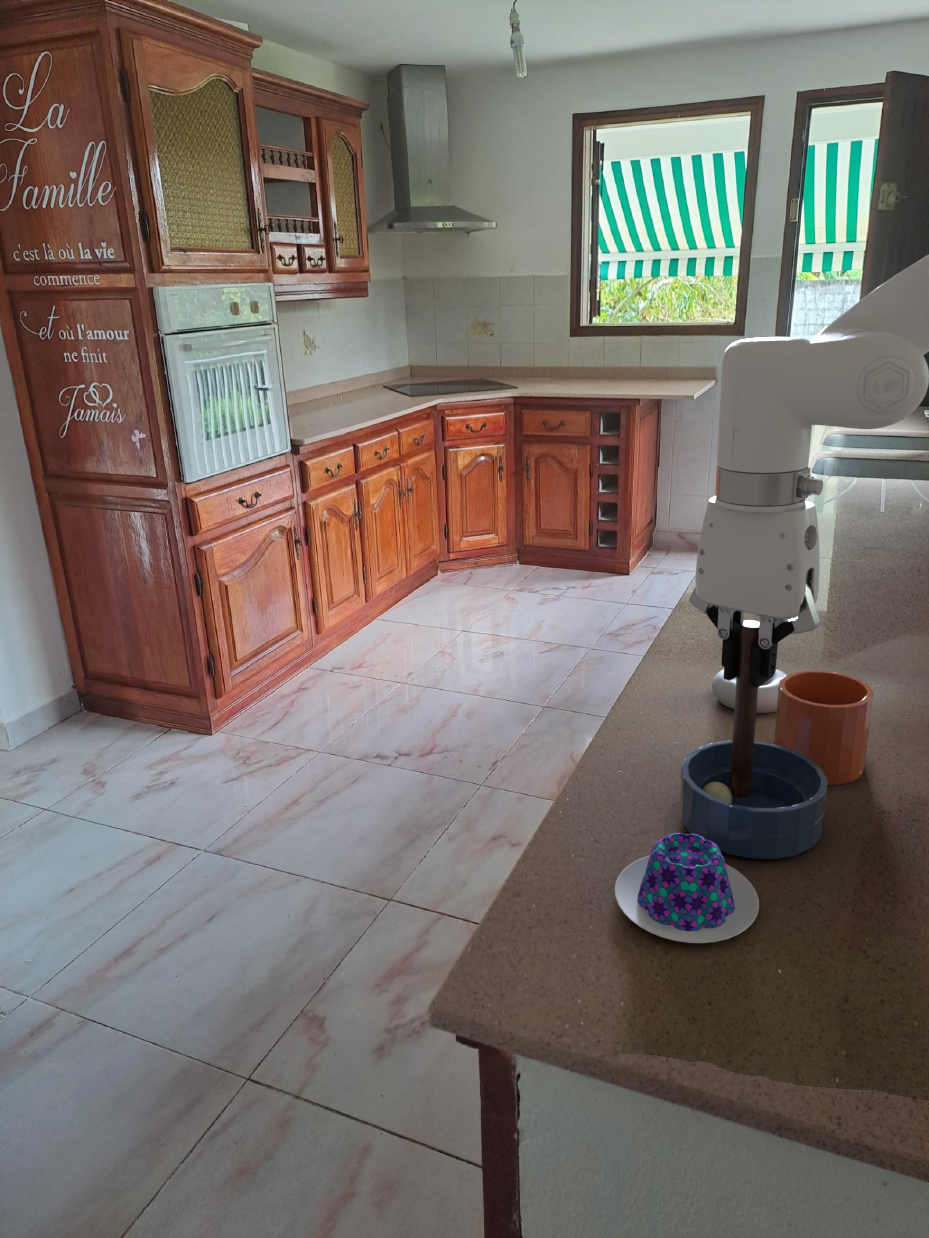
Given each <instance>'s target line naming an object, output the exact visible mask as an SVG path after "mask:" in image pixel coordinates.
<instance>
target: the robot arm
mask: <svg viewBox="0 0 929 1238" xmlns="http://www.w3.org/2000/svg"><path fill="white" fill-rule="evenodd" d="M928 353H929V254H927V255H925V256H924V257H922V258H921V259H918V261H916V262H914V263H912V264H911V265H910V266H908V267H906V268H904V269H903V270H902V271H900V272H898V273H897V274H895V275H893V276H892V277H890V278H889V279H888V280H886V281H885V282H884V283H882V284H880V285H879V286H878V287H876V288H875V289H873V290H872V291H871V292H869V293H868V294H866V296H864V297H862V299H860V300H859V301H858V302H856V303H855V304H854V305H853V306H851V307H850V308H849V309H847V310H846V311H844V312H843V313H842V314H841V315H840V316H838V317H837V318H836V319H834V320H833V321H832V322H831V323H829V324H828V325H827V326H825V327H824V328H823V329H822V330H821V331H820V332H818V333H817V334H816V335H815V336H814V337H813V338H812V339H811V340H808V339H806V338H802V337H796V336H795V337H794V336H768V337H766V336H765V337H752V338H743V339H739V340H737V341H734V342H731V344H729V345H728V346H727V348H726V349H725V350H724V353H723V356H722V360H721V361H722V362H721V375H720V376H721V377H720V394H719V395H720V397H719V414H718V415H719V417H718V436H717V437H718V438H717V454H716V455H717V456H716V475H715V495H714V496H712V497H710V498H709V499H708V502H707V506H706V509H705V513H704V517H703V521H702V526H701V530H700V535H699V542H698V548H697V555H696V565H695V566H696V567H695V583H694V584H695V586H694V588H693V590H692V592H691V594H690V596H689V600H688V601H689V604H690V605H691V606H692V607H694V608H696V609H697V610H698V611H700V612H701V613H703V614H706V616H707V617H708V619H709V620H710V622H711V623H712V624H713V625H714V627H715V628H716V630H717V632H716V633H717V636H718V637H719V639H721V640H722V642H721V643H722V644H721V666H722V667H723V669H724V679H726V680H729V681H730V680H732V679H734V678H735V677H737V661H738V645H739V630H740V622H742V621H744V617H745V613H746V614H752V615H756V616H759V622H760V624H759V639H758V645H756V646H755V647H753V649H752V655H751V670H750V685H751V686H752V687H755V688H758V687H760V686H761V685H762V684H764V683H765V682H766V681H768V680H769V679H770V678H772V677H773V676H774V674H775V671H776V669H777V659H778V647H779V646H778V645H779V643H780V641H782V640H784V639H785V638H786V637H789V636H790V635H794V634H795V635H797V634H802V633H808V632H813V631H814V630H816V629H817V628H819V627H820V625H821V623H822V622H821V617H820V614H819V611H818V608H817V605H816V604H817V601H818V597H819V589H820V568H821V567H820V566H821V565H820V559H821V557H820V532H819V522H818V514H817V508H816V503H815V502H813V501H807V499H808V498H809V497H811V496H820V495H821V494H822V492H823V488H824V481H823V479H822V478H815V477H814V476H811V467H809V462H810V460H809V459H810V453H811V452H810V450H811V440H812V429H813V426H825V427H836V428H846V429H855V430H878V429H882V428H887V427H889V426H890V427H891V426H892V425H895V424H897V423H899V422H901V421H903V420H904V419H906V418H907V417H909V416H910V415H911V414H912V413H914V412H915V410H916V409H917V408H918V407H919V406H920V405H921V404H922V402H923V400H924V398H925V397H926V395H927V391H928V388H929V365H928V363H927V361H926V360H927V359H926V358H925V355H926V354H928Z"/></svg>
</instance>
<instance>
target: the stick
mask: <svg viewBox="0 0 929 1238" xmlns="http://www.w3.org/2000/svg"><path fill="white" fill-rule="evenodd" d="M759 624H760V621H758V620H754V619H753V620H752V619H746V620H743V621H742V622H740V630H739V645H738V661H737V677H736V693H735V708H734V709H733V711H734V712H733V725H732V727H733V728H732V756H731V771H730V787H729V790H730V791H731V794H732V796H734V797H738V798H746V797H748V796H749V795H750V790H751V777H752V763H753V749H754V741H755V735H756V723H757V722H756V721H757V713H756V709H757V695H758V688H755V687H752V686H751V685H750V670H751V655H752V649H753V647H755V646H756V645H758V639H759Z"/></svg>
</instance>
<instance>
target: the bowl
mask: <svg viewBox="0 0 929 1238" xmlns="http://www.w3.org/2000/svg"><path fill="white" fill-rule="evenodd" d="M732 740H733V739H732ZM732 740H731V739H729V740H723V741H716V742H711V743H708V744H705V745H703V746H700V747H697V748H695V749H694V750H693V751H691V752H689V754H687V755H686V756H685V757H684V760H683V762H682V764H681V767H680V787H679V789H680V792H679V814H680V819H681V823H682V824H683V825H684V827H685V828H686V829H687V831H688V832H689V834H697V835H700V836H702V837H703V838H704V839H705V840H709V841H712V842H713V843H715V844H716V845H717V846H718V848H719V849H720V851H721V852H723V853H726V854H728V855H734V856H738V857H741V858H742V857H743V858H747V859H767V860H775V859H776V860H777V859H782V858H789V857H794V856H798V855H800V854H802V853H804V852H806V851H808V850H811V849H812V848H813V847H814V846H815V845H816V844H817V843H818V842H819V840H820V839H822V835H823V828H824V822H825V821H824V819H825V810H826V803H827V802H826V801H827V792H828V785H827V784H828V780H827V778H826V776H825V774H824V772H823V770H822V769H821V768H820V767H819V766H818V765H817V764H816V763H814V762H813V761H812V760H811V759H810V758H808V757H806V756H804V755H802V754H800V753H798V752H796V751H794V750H792V749H788V748H785V747H782V746H779V745H776V744H774V743H771V742H765V741H757V740H754V749H753V763H752V777H751V790H750V795H749V796H748V797H746V798H738V797H734V796H732V803H728V802H725V801H723V800H720V799H717V798H714V797H712V796H711V795H709V794H708V793H706V792H704V791H703V790H702V789H703V788H704V787H705V786H706V785H707V784H709V783H711V782H720V783H723V784H724V785H726V786H727V787H728V788H729V787H730V771H731V756H732Z"/></svg>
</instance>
